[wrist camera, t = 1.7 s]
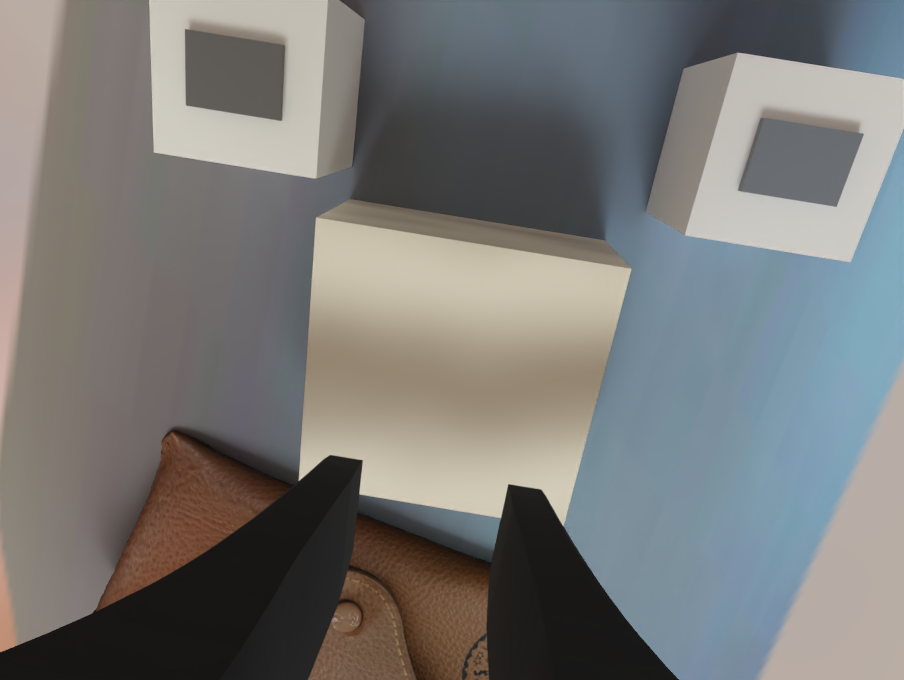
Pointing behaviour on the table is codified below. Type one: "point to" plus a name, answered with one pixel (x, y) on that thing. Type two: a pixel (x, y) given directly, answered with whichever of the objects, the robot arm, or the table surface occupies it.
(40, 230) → the table surface
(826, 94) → the cream block marked 1
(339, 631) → the sunglasses case
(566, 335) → the plain birch block
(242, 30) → the cream block marked 2
